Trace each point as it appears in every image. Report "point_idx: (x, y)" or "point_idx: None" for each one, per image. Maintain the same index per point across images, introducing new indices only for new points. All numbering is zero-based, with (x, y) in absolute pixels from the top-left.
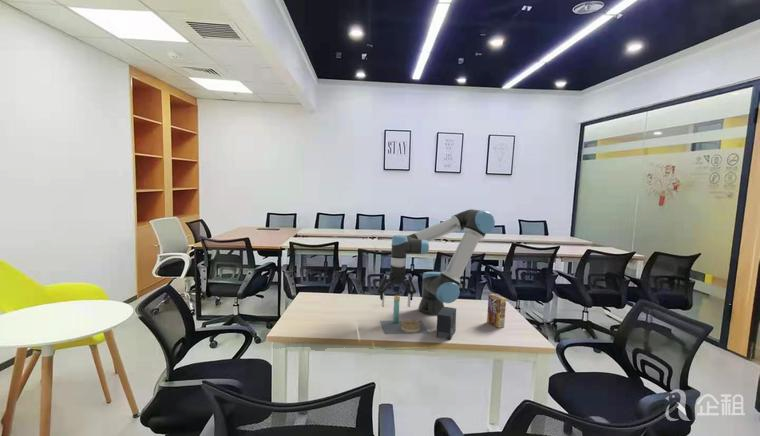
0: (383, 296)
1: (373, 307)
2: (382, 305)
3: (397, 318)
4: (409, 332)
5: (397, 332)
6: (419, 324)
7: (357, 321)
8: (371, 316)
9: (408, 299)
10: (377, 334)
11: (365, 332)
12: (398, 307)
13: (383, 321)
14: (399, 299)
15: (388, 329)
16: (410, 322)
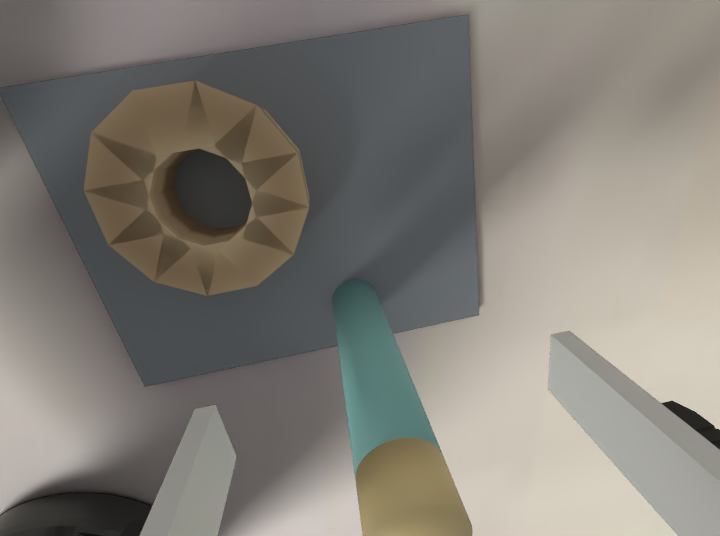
0: (707, 451)
1: (492, 524)
2: (582, 341)
3: (348, 302)
4: (220, 86)
5: (341, 72)
6: (90, 158)
7: (629, 294)
8: (522, 395)
9: (194, 528)
10: (521, 37)
11: (614, 76)
12: (355, 375)
13: (452, 309)
14: (359, 484)
15: (423, 140)
16: (213, 241)
